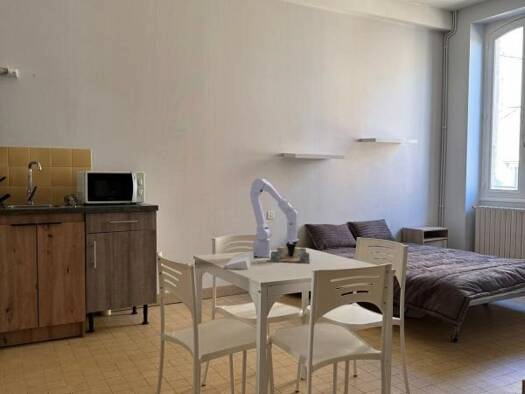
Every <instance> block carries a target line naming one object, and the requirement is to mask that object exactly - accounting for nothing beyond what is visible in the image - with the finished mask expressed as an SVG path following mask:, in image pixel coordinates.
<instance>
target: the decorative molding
mask: <svg viewBox="0 0 525 394" xmlns="http://www.w3.org/2000/svg"><path fill="white" fill-rule="evenodd" d="M254 259H255V258H254V256H253V250H250V251H247V252H242V253H239V254H235V255H233V256H232V257H231V259H230V260H229V261H228V262H227V263H226V264H225V266H226V268H227V270H229V269H231V270H235V269H236V270H238V269H239V270H249V268H250V266H251V264H252V263H253V261H254Z"/></svg>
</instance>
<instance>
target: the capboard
mask: <svg viewBox="0 0 525 394" xmlns="http://www.w3.org/2000/svg"><path fill="white" fill-rule="evenodd" d="M270 254H271V256H270V259H269V262H270V263H286V262H289V264H310V263H311V258H310V252H307V251H306V252H301V254H300V258H285V257H280V255H281V252H278V251H277V250H276V251H275V250H273V251H270Z"/></svg>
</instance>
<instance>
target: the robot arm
mask: <svg viewBox="0 0 525 394" xmlns="http://www.w3.org/2000/svg"><path fill="white" fill-rule="evenodd" d="M249 192H250V193H249V198H250V202H251V205H252V206H251V207H252V209H253V214H254V217H255V223H256V228H255V229H256V233H255V234H256V238H257V240H255V239H254V240H253V250H252V252H253V256H257V258H271V239H270V238H271V236H272V231H271V229H270V227H269V224H267V222H266V221H267V220H266V218H265V213H264V210H263V206H262V201H261V198H260V197H261V195H262V193H263V192H266V193H268V194H269V195H270V196H271V197H272V198H273V199H274V200H275V201H276V202H277V207H278V208H279V209H280V210H281V211H282V212H283V214H284V215H285V217H286V219H287V221H286V240H285V241H287V242H286V243H285V247H287V248H288V253H289V257H293V254H294V249H295V248H297V247H296V246H297V244H298V241H300V239H299V238H298V217H299V212H298V210H297V209H295V207H294V206H292V205H291V204H290V203H289V202H290V201H289V200H288V199H286V198H282V197H281V195H280V194H279V192H278V191H277V190H276V189H275V188H274V186H273V185H272V184H271V183H270V182H269V181H268V180H267V179H266V178H259V177H258V178H256V179H254V180H253V181H252V183H251V188H250V191H249Z"/></svg>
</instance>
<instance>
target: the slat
mask: <svg viewBox="0 0 525 394" xmlns="http://www.w3.org/2000/svg"><path fill="white" fill-rule="evenodd" d="M276 251H278V252H281V255H280V257H285V258H300V254H301V252H306V253H307V248H306V247H295V249H294V254H293V257H289V253H288V248H287V246H285V247H284V246H277V247H276Z"/></svg>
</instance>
